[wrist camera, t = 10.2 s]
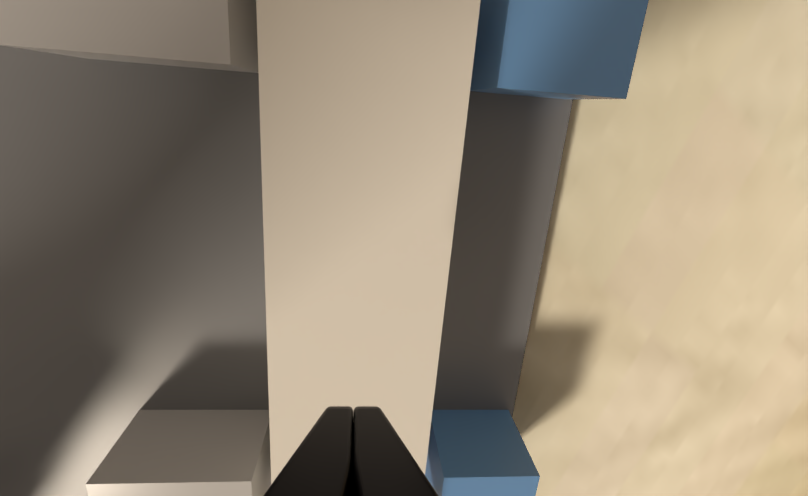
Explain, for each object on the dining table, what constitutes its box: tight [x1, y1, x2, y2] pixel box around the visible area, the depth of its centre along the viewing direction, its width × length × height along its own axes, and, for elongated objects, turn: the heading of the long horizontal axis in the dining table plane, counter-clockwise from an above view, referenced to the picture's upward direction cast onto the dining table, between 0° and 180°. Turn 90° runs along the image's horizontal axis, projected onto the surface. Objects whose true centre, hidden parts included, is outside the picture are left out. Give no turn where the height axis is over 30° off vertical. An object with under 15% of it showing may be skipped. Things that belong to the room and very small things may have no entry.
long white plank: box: [256, 0, 481, 484], centre depth 12 cm, size 16×4×4 cm, turn 176°
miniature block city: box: [0, 0, 649, 496], centre depth 12 cm, size 19×22×4 cm
